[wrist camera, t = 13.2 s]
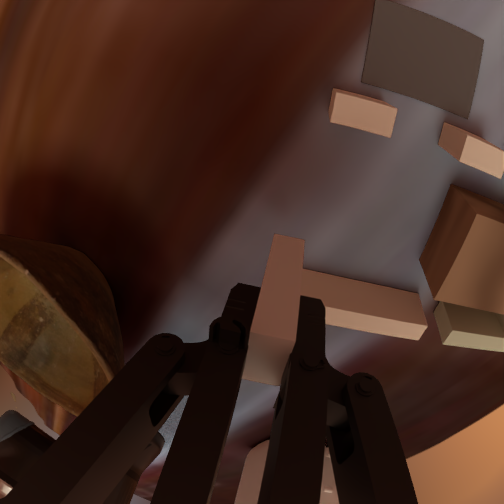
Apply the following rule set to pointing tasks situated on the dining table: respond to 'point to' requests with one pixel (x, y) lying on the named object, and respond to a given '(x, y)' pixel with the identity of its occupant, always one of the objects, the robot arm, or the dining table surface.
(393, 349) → the dining table surface
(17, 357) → the bowl
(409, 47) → the mat
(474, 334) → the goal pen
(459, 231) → the block
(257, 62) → the dining table surface
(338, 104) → the channel
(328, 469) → the cable organizer
